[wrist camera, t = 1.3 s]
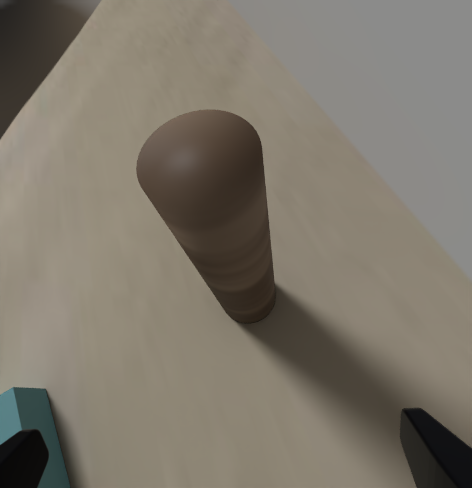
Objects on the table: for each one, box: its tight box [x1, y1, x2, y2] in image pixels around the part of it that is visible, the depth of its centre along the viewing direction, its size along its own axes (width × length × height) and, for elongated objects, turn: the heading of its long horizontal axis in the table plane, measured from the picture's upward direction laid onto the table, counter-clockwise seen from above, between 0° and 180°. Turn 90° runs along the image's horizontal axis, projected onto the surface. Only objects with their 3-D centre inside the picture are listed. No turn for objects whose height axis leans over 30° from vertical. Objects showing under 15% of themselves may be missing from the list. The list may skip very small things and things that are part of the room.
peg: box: [136, 110, 275, 323], centre depth 17 cm, size 4×4×15 cm
